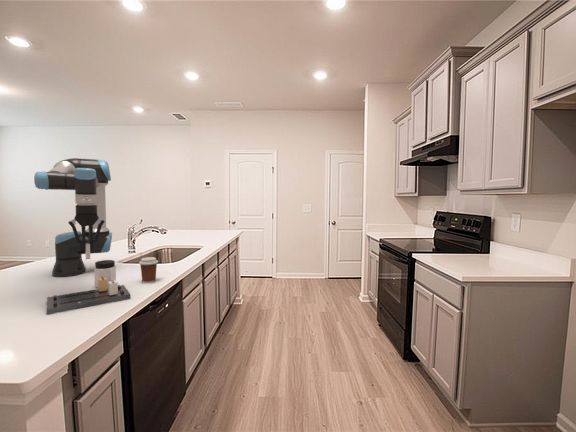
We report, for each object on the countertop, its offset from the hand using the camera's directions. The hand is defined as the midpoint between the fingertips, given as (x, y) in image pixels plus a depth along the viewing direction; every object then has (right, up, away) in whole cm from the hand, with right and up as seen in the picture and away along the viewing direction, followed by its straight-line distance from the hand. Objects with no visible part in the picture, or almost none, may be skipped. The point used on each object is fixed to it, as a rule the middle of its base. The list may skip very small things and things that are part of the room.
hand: (88, 258), depth 124 cm
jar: (-4, -16, +18) cm, 24 cm away
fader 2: (+11, -15, 0) cm, 19 cm away
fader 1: (+4, -15, +4) cm, 16 cm away
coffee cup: (+14, -16, +27) cm, 34 cm away
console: (+2, -18, -2) cm, 18 cm away
